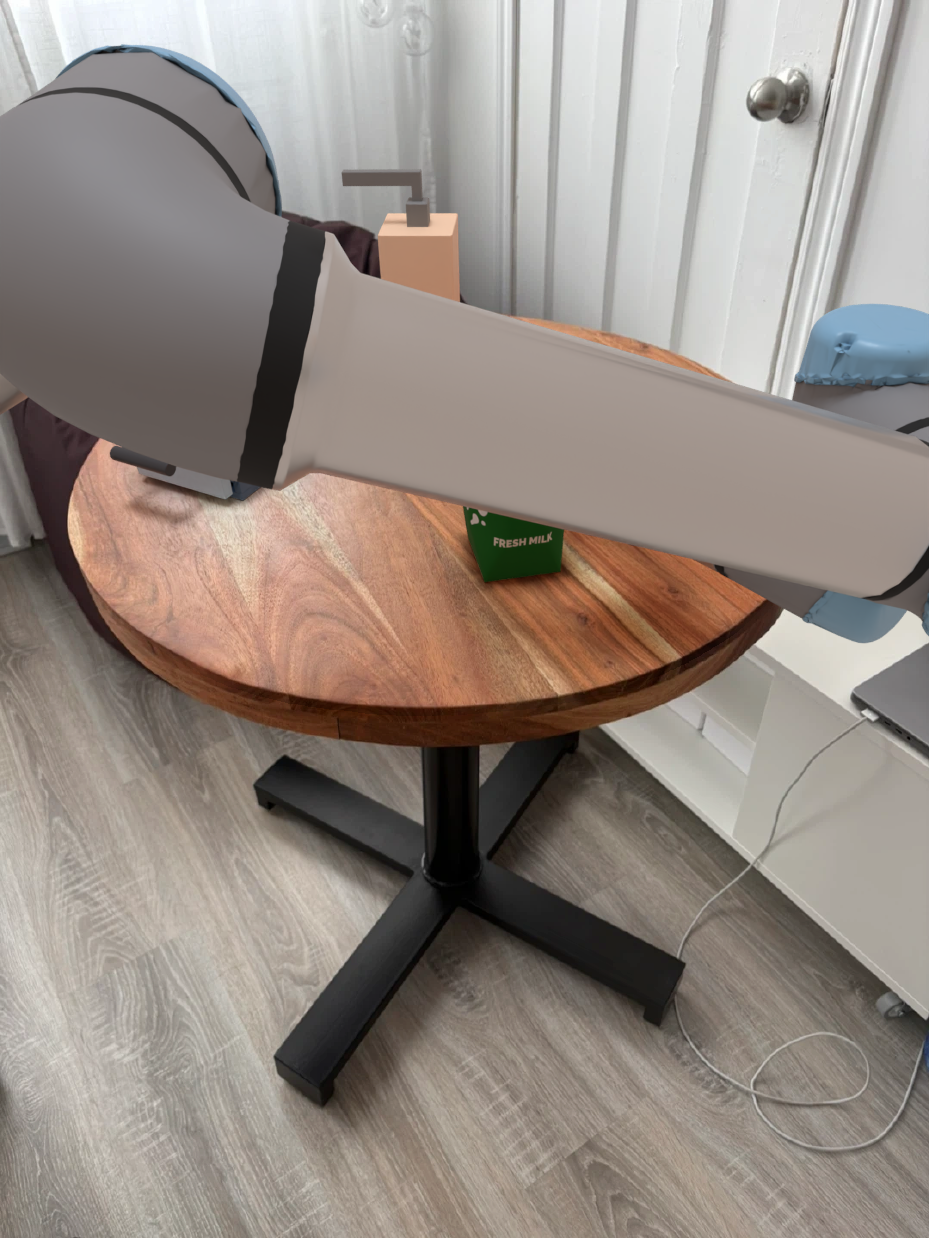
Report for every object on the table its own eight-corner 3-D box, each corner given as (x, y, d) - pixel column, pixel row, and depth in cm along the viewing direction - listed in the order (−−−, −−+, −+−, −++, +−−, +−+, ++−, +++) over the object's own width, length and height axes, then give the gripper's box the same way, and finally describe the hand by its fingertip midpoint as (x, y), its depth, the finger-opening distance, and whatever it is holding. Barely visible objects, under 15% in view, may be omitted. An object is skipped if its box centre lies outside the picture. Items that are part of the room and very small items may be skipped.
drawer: (194, 522, 87) (177, 449, 82) (106, 494, 92) (84, 423, 87) (306, 440, 100) (296, 372, 95) (223, 418, 104) (209, 352, 99)
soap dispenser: (461, 342, 121) (456, 160, 107) (455, 370, 115) (450, 180, 101) (365, 341, 122) (348, 161, 108) (354, 369, 116) (335, 180, 102)
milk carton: (546, 522, 88) (555, 316, 75) (573, 578, 81) (588, 361, 68) (455, 534, 87) (449, 327, 74) (476, 591, 80) (473, 374, 67)
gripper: (570, 618, 61) (372, 494, 73) (784, 483, 73) (585, 397, 86) (577, 522, 56) (364, 407, 68) (805, 396, 69) (591, 318, 81)
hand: (487, 401), depth 77 cm, fingers open, 13 cm apart
